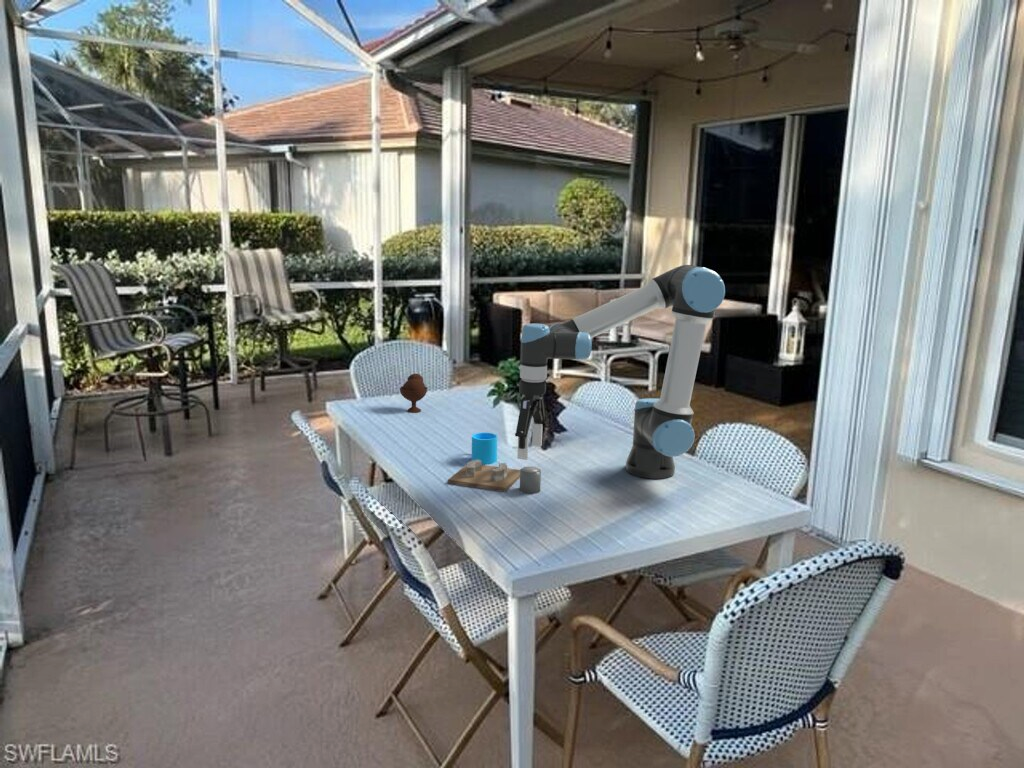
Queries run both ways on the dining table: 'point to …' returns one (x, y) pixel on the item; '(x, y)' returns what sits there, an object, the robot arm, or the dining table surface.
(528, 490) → the cap
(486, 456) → the mug
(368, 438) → the dining table surface
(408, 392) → the ice cream bowl
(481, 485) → the board
